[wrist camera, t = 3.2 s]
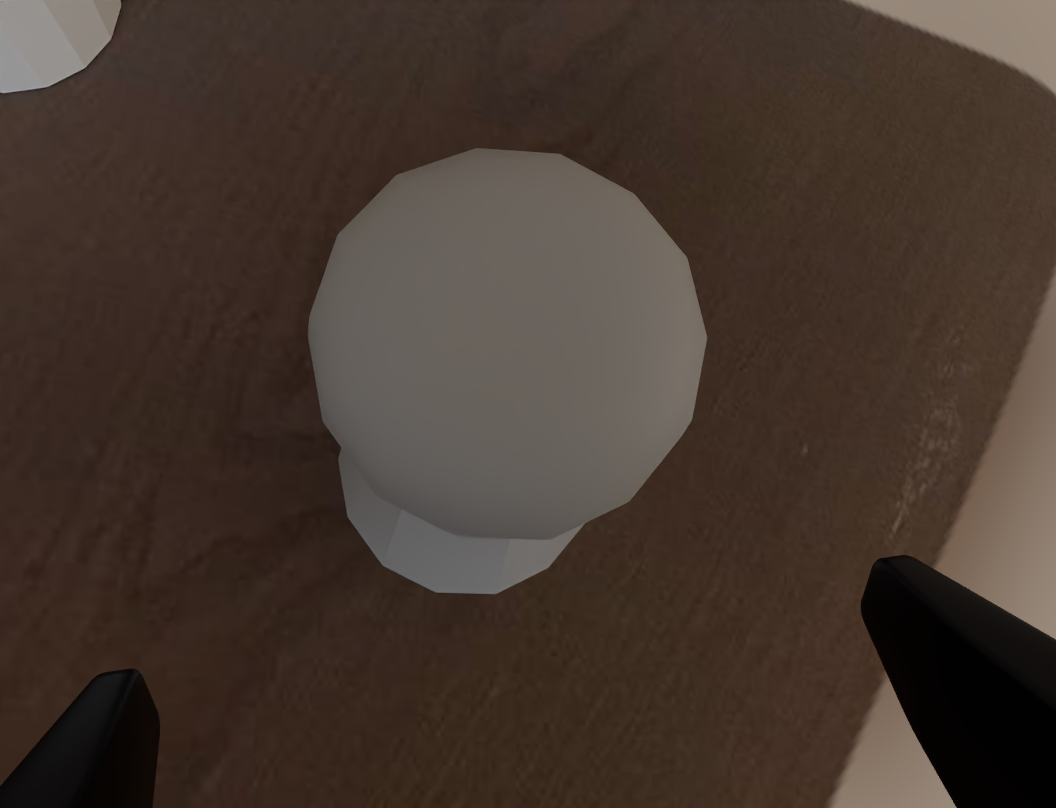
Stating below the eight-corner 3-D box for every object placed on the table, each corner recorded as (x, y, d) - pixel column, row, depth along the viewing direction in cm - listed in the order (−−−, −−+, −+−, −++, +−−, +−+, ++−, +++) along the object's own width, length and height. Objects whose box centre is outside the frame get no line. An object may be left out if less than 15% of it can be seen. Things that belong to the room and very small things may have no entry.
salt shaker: (576, 374, 21) (795, 74, 9) (576, 593, 20) (831, 620, 7) (355, 364, 20) (238, 20, 8) (341, 589, 19) (173, 613, 7)
